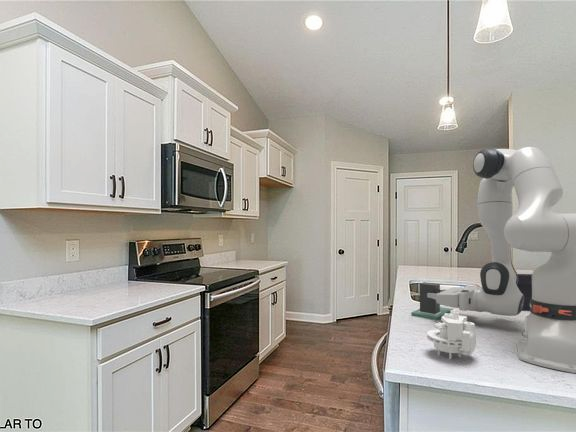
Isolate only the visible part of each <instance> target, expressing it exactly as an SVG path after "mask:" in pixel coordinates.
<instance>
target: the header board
mask: <svg viewBox="0 0 576 432" xmlns="http://www.w3.org/2000/svg"><path fill="white" fill-rule="evenodd" d="M450 310H453V308H451V307H450V308H449V307H443V306H440V312H439V313H437V314H431V313H425V312H420V308H418V309H416V310H414V311H412V312H411V313H410V315H411V316H412V317H417V318H422V319H427V320H428V319H429V320H434V321H440V320H441V317H442V316H444V314H445V313H449V314H450Z"/></svg>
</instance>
